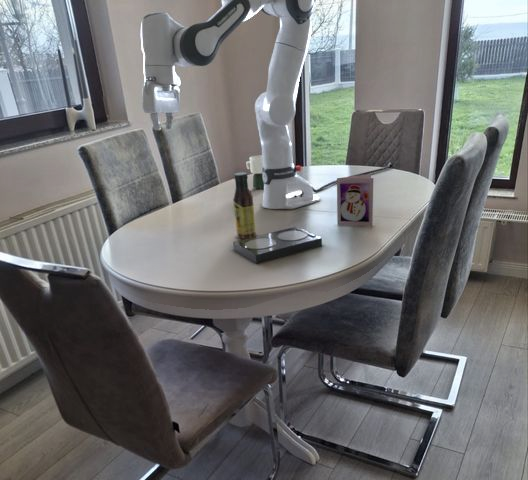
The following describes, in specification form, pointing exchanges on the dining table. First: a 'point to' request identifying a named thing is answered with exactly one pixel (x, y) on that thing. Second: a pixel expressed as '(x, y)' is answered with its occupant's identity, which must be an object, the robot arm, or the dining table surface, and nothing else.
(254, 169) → the character mug
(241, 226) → the sauce bottle
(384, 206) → the dining table surface
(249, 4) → the robot arm
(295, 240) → the hot plate
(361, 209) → the greeting card
